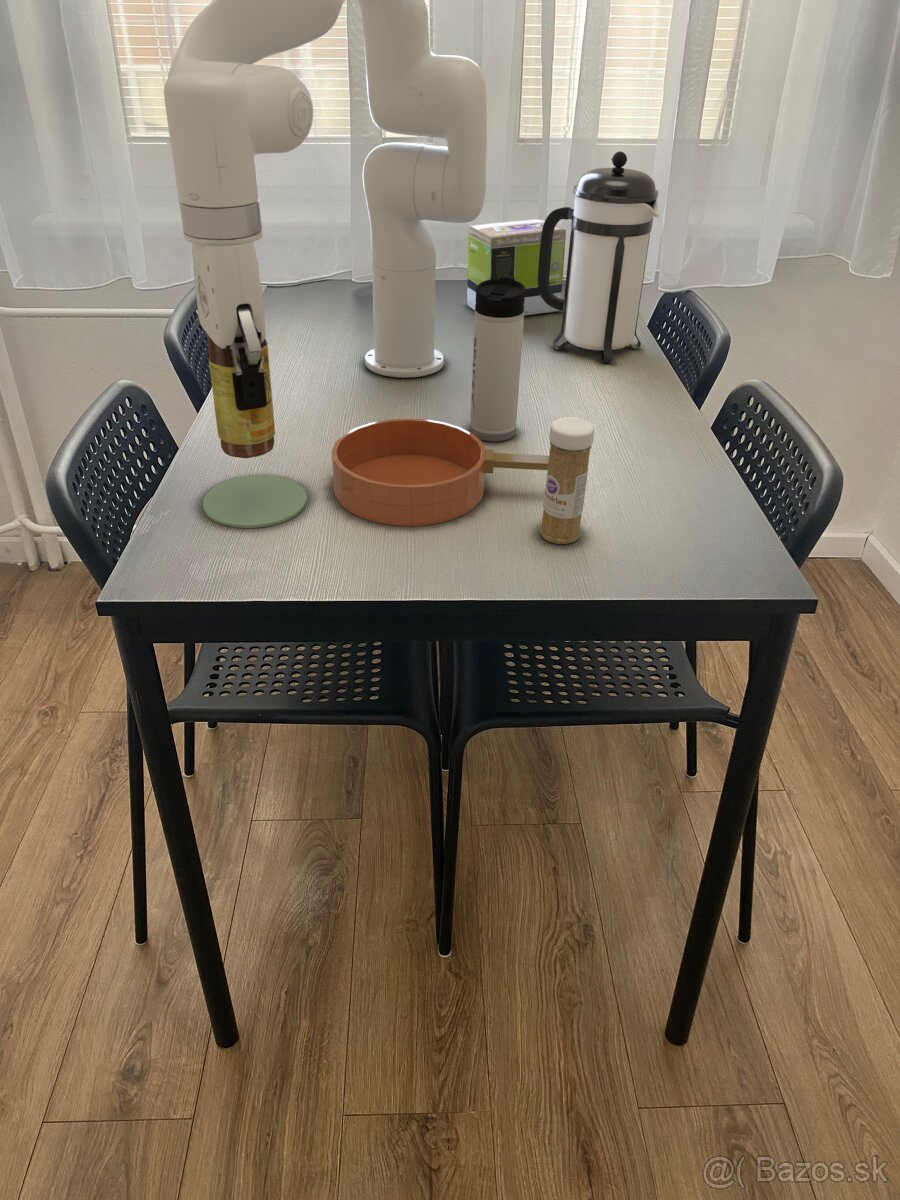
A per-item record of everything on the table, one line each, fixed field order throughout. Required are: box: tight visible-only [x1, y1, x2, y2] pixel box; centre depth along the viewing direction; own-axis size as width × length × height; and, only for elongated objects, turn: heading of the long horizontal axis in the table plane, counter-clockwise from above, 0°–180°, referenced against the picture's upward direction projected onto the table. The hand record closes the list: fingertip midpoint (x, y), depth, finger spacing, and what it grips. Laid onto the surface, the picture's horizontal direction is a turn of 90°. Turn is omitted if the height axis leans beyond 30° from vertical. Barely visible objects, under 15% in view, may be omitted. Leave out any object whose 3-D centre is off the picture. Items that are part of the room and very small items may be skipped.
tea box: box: [466, 218, 567, 317], centre depth 160 cm, size 15×10×15 cm
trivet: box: [202, 474, 308, 529], centre depth 103 cm, size 12×12×1 cm
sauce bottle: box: [206, 327, 276, 459], centre depth 93 cm, size 7×6×20 cm
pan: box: [331, 418, 486, 527], centre depth 106 cm, size 18×18×5 cm
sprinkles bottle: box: [539, 416, 595, 545], centre depth 95 cm, size 5×5×13 cm
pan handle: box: [484, 448, 549, 475], centre depth 104 cm, size 11×3×2 cm, turn 86°
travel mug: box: [469, 276, 525, 443], centre depth 115 cm, size 6×7×20 cm
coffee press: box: [538, 151, 661, 364], centre depth 140 cm, size 17×16×30 cm
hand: (242, 394), depth 96 cm, fingers closed on sauce bottle, 6 cm apart
